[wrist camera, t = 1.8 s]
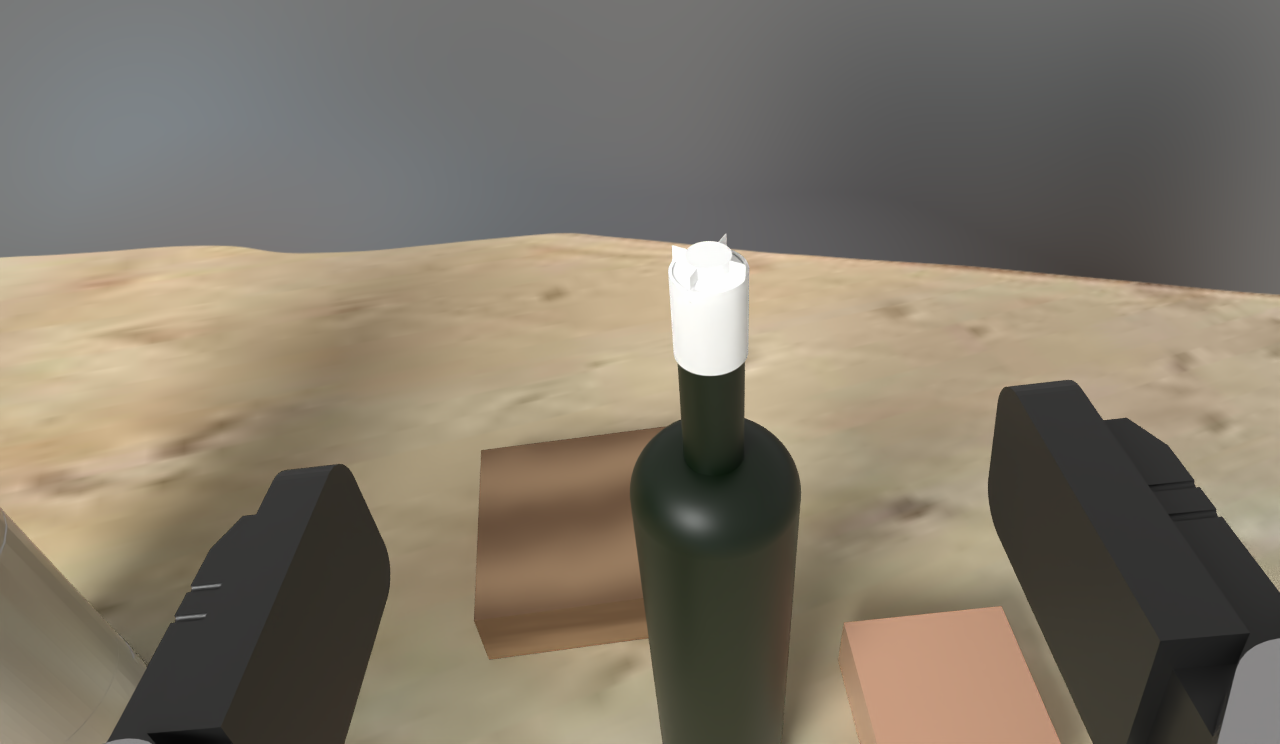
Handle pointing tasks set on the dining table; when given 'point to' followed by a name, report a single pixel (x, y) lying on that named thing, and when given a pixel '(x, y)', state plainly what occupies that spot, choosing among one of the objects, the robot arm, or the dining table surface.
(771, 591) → the wine bottle
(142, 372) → the dining table surface
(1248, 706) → the robot arm
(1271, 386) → the dining table surface
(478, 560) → the walnut block
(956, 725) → the terracotta block
